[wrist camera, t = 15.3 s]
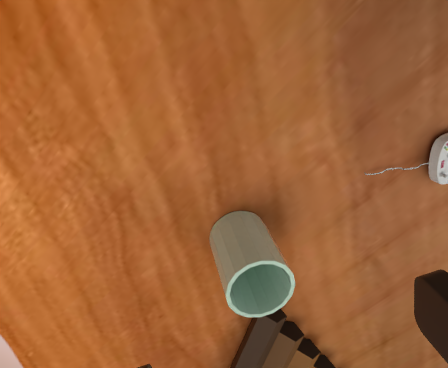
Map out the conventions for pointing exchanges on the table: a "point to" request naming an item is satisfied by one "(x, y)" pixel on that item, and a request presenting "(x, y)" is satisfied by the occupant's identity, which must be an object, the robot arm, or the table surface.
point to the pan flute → (277, 346)
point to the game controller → (436, 161)
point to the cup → (250, 265)
